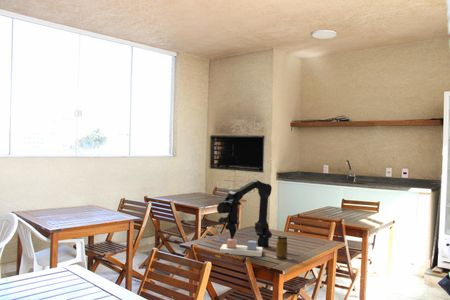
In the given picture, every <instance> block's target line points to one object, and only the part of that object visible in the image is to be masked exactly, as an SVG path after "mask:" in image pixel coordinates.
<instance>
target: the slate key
mask: <svg viewBox="0 0 450 300" xmlns="http://www.w3.org/2000/svg"><path fill="white" fill-rule="evenodd" d="M246 246H247V249H253V250H256V247H258V240H251V239H249V240H247V245H246Z"/></svg>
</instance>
